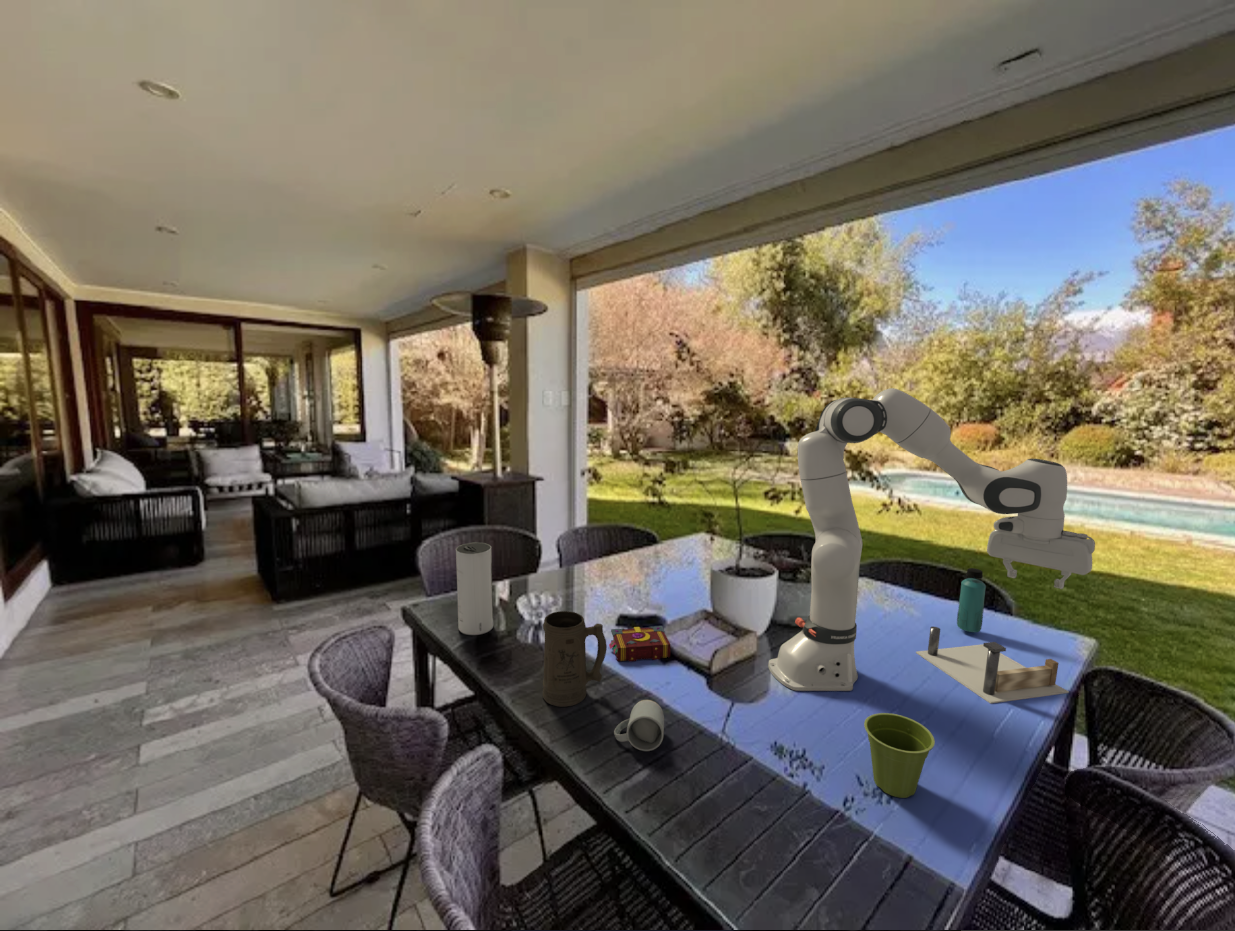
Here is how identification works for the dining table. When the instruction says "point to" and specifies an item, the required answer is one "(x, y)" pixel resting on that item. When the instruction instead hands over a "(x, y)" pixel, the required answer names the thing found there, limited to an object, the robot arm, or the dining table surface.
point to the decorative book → (640, 643)
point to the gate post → (992, 666)
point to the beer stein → (569, 658)
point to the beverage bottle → (971, 601)
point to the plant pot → (897, 752)
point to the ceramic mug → (643, 726)
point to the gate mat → (983, 672)
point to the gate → (1027, 677)
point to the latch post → (933, 641)
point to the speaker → (474, 588)
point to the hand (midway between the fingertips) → (1034, 582)
